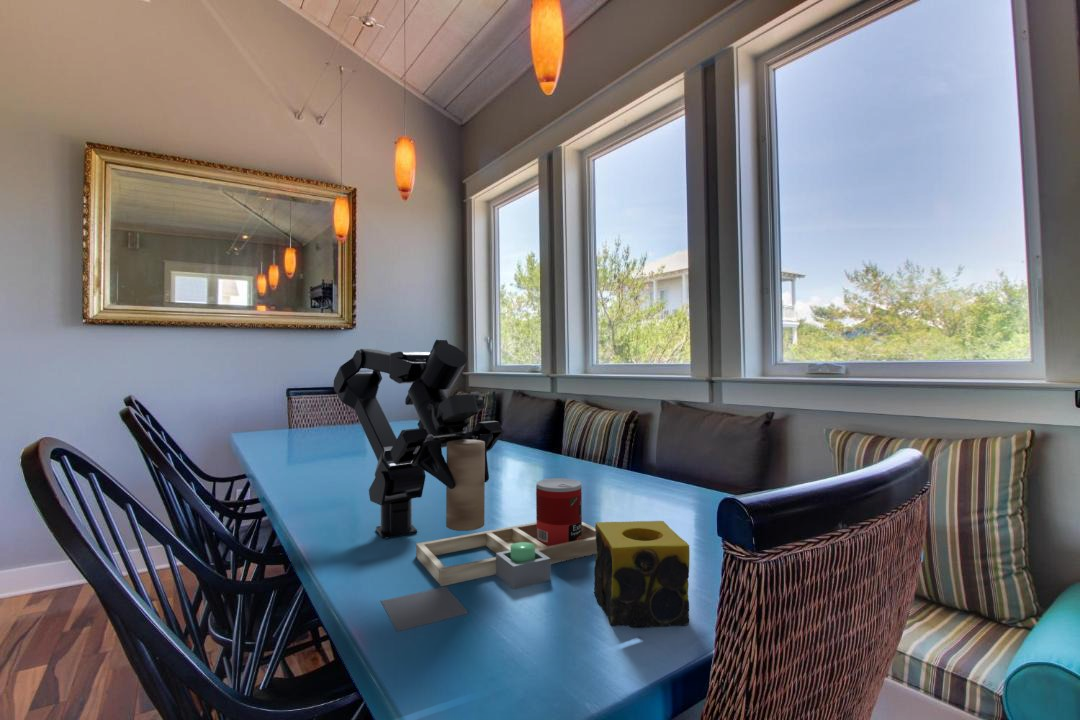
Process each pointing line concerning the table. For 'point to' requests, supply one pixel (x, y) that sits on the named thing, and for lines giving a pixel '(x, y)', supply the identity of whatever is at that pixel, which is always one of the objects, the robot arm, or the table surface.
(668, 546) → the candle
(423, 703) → the table surface
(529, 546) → the button
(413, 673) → the table surface
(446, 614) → the rubber mat
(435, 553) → the birch frame
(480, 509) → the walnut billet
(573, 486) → the canned food
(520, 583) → the grey square box
